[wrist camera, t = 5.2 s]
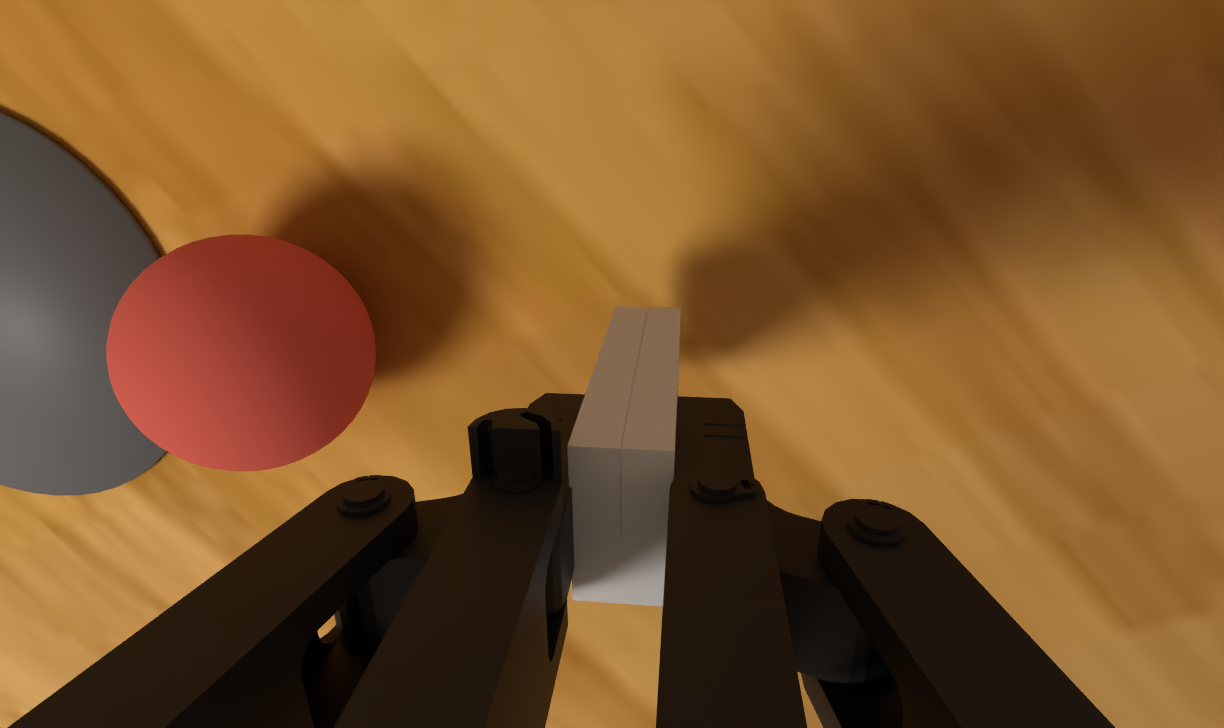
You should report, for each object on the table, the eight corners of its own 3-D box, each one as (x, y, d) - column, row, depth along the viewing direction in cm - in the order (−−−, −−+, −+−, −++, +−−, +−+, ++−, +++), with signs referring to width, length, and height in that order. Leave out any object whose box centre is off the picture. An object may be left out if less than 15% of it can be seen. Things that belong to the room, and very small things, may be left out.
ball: (116, 221, 16) (357, 206, 18) (177, 421, 18) (386, 391, 20) (17, 286, 11) (357, 257, 13) (116, 544, 14) (395, 491, 15)
